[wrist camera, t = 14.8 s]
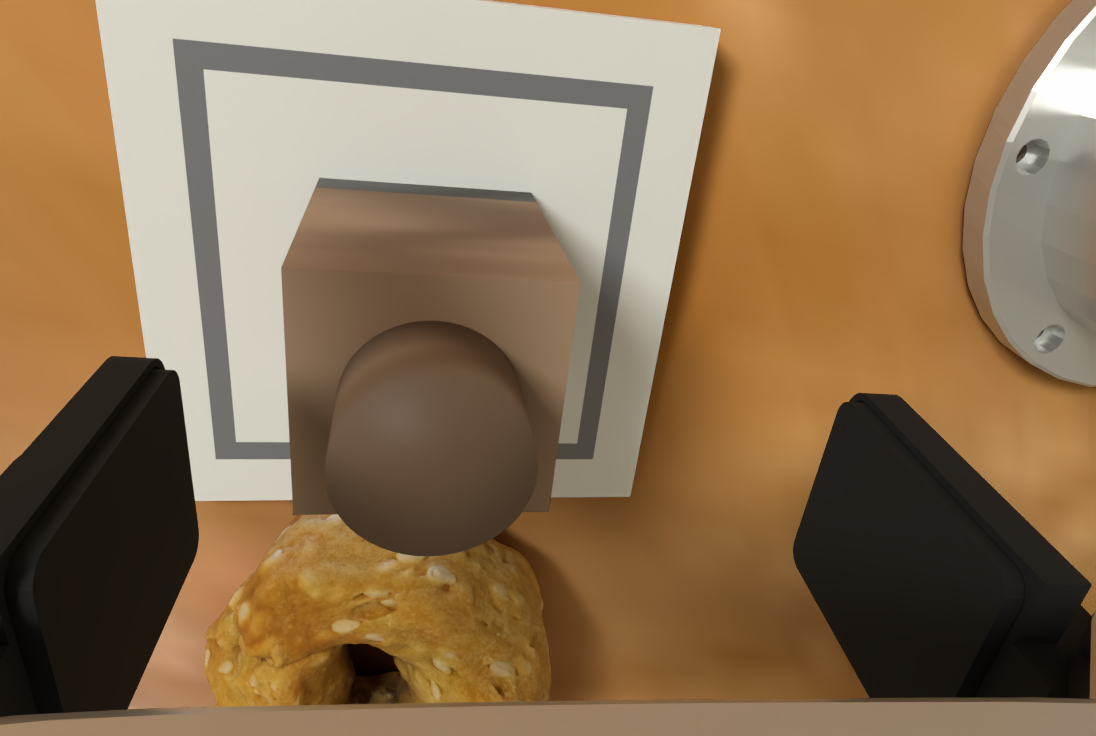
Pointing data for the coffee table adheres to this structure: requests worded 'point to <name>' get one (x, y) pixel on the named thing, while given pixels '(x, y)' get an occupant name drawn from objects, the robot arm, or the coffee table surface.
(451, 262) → the stamp
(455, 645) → the bagel
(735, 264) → the coffee table surface
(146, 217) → the board
